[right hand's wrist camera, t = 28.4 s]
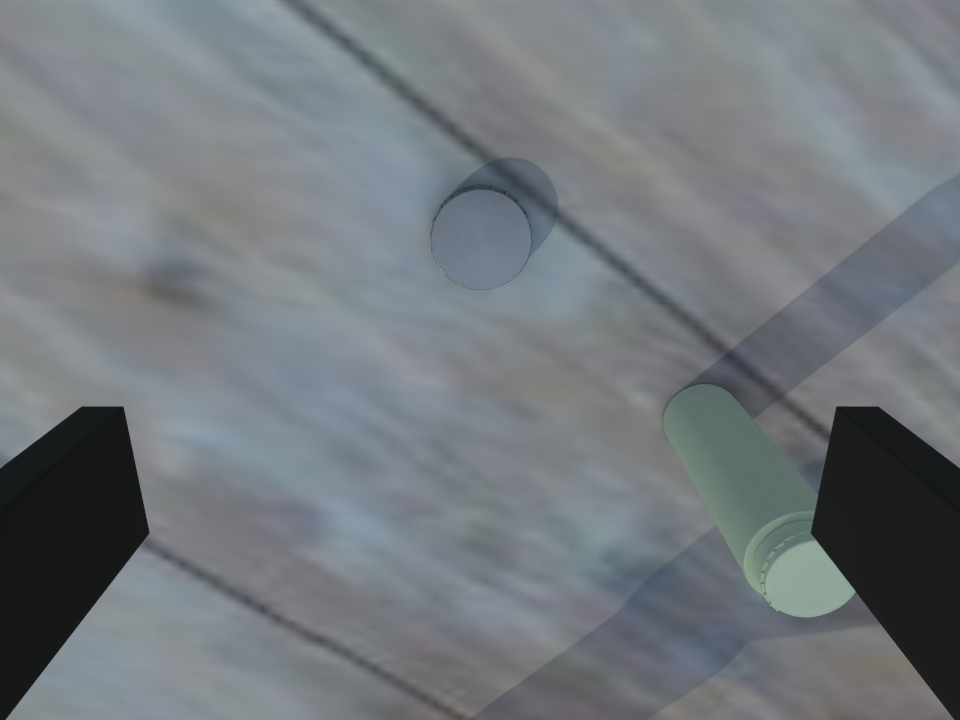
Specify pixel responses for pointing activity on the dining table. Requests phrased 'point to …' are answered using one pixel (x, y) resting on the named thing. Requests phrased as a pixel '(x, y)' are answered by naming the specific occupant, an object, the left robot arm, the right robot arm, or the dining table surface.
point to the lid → (481, 237)
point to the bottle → (755, 501)
